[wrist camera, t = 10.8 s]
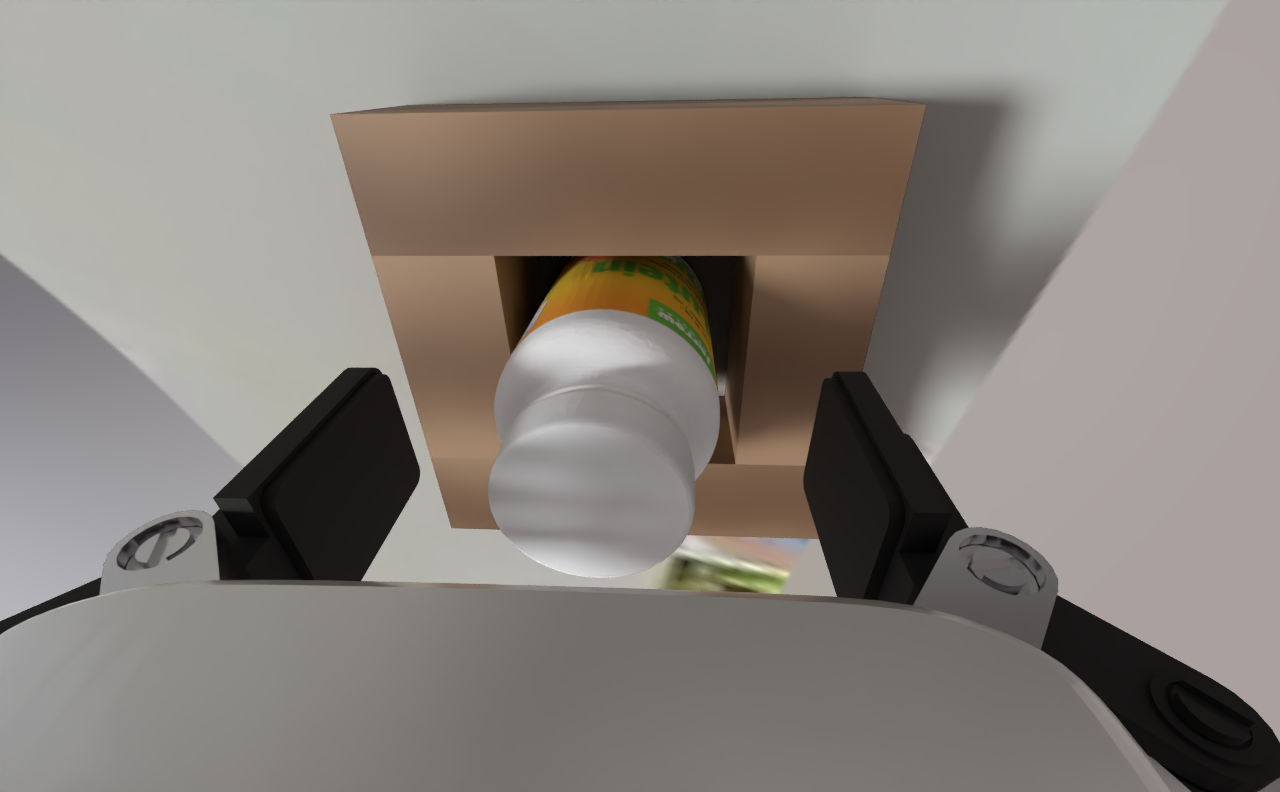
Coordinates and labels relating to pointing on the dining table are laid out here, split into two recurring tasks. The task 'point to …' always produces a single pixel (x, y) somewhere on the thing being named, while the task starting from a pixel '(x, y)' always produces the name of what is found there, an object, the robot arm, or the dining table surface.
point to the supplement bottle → (607, 417)
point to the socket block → (635, 226)
